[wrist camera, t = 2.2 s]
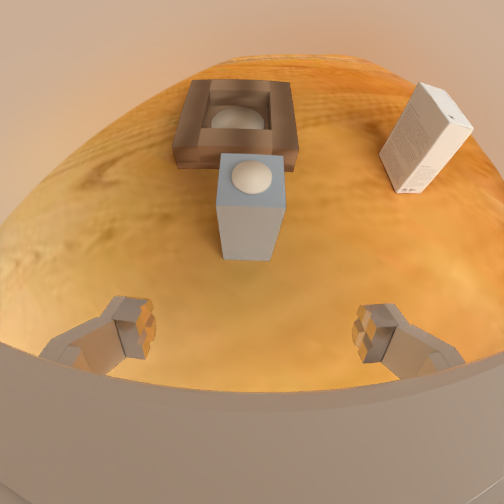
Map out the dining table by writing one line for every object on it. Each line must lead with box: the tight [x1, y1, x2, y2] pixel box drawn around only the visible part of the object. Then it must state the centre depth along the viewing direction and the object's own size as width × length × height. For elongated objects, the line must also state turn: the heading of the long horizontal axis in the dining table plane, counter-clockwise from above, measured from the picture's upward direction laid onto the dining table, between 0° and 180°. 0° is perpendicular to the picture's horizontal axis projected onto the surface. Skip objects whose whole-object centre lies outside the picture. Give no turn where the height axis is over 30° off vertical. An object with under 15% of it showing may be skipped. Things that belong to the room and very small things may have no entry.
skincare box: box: [379, 82, 474, 193], centre depth 23 cm, size 6×4×12 cm
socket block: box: [172, 79, 299, 172], centre depth 28 cm, size 12×12×4 cm
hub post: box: [216, 153, 286, 261], centre depth 20 cm, size 4×4×9 cm
